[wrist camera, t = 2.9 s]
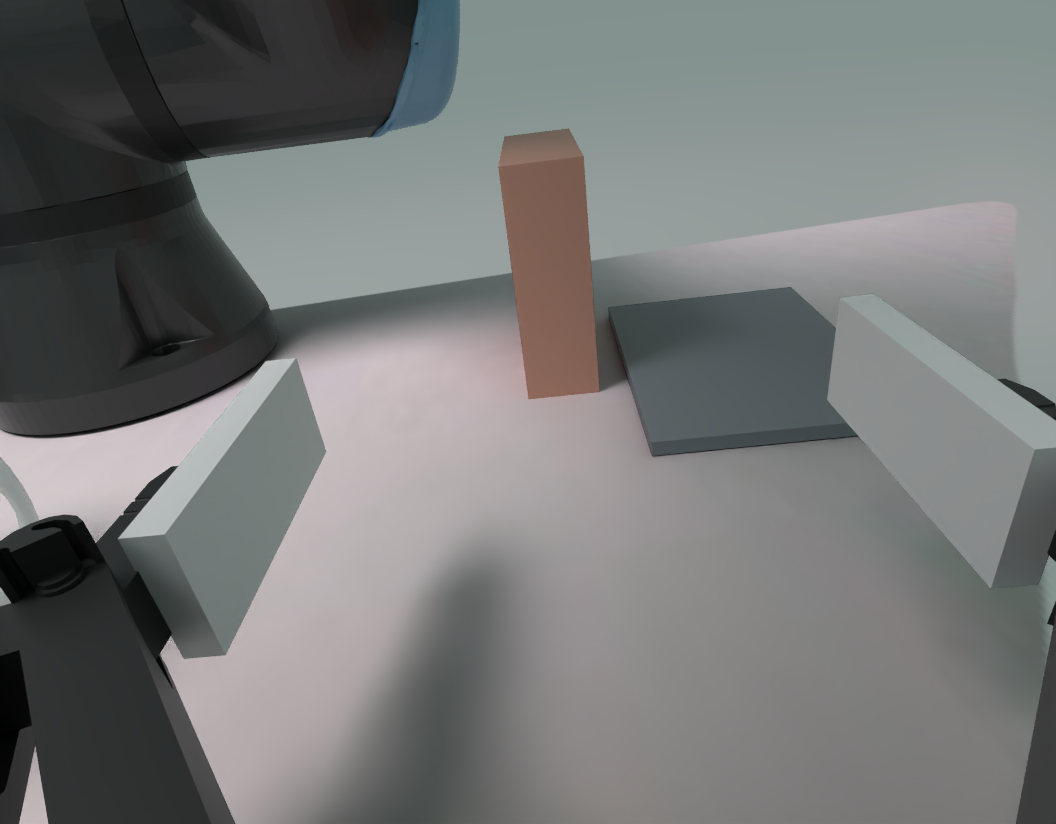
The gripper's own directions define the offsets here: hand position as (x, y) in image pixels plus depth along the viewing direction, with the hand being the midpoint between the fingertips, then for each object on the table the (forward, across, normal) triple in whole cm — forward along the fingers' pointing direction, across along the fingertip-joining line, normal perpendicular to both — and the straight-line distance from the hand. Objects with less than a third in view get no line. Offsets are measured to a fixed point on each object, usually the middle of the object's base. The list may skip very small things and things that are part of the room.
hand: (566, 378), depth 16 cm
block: (+16, 0, -6) cm, 17 cm away
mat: (+13, +8, -6) cm, 17 cm away
